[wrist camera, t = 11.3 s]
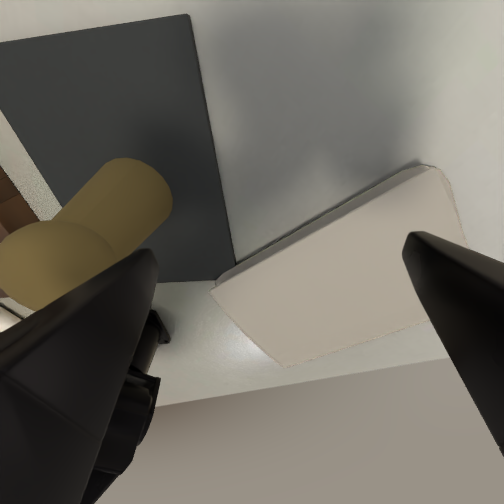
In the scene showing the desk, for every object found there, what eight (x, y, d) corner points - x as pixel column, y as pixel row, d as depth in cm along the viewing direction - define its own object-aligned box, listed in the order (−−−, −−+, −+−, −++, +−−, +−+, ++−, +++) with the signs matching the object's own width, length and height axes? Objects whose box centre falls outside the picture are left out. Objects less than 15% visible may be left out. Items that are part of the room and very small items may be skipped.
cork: (152, 238, 23) (83, 347, 14) (86, 198, 20) (-46, 298, 12) (186, 191, 20) (124, 292, 11) (113, 139, 17) (-37, 212, 9)
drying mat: (238, 275, 26) (237, 279, 25) (113, 281, 27) (110, 285, 27) (189, 14, 14) (187, 13, 13) (-30, 48, 15) (-39, 48, 15)
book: (474, 275, 25) (505, 306, 22) (281, 347, 33) (283, 376, 30) (440, 147, 17) (480, 167, 14) (202, 284, 26) (195, 314, 23)
